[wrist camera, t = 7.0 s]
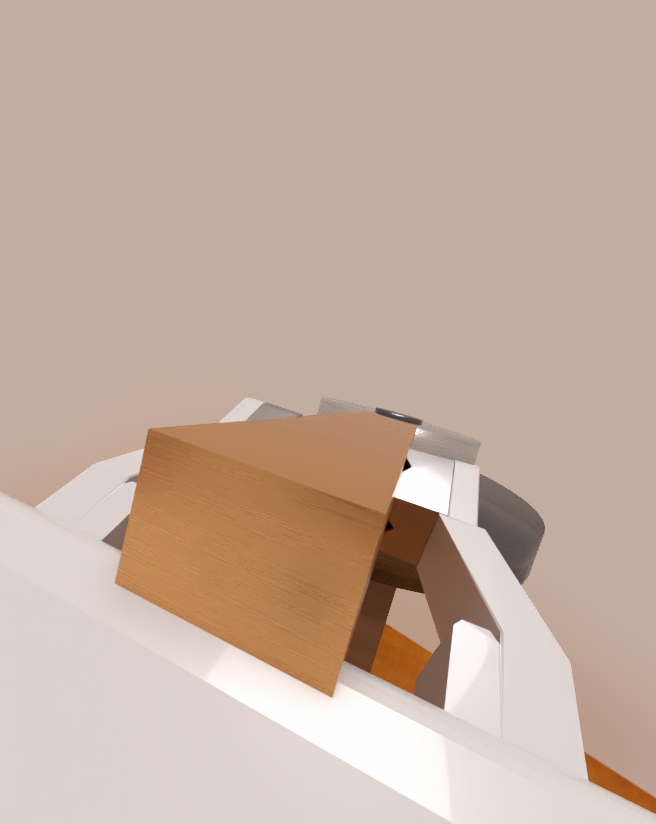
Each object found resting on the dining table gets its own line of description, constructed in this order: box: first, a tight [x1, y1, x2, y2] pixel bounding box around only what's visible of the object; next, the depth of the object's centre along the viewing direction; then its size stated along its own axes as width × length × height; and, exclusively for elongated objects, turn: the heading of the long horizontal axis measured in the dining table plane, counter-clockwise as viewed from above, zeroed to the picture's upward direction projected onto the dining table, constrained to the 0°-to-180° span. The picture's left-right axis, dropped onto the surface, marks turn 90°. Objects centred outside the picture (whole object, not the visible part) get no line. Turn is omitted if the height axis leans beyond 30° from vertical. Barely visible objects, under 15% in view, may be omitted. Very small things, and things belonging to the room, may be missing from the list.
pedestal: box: [345, 474, 545, 673], centre depth 21 cm, size 16×16×26 cm
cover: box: [115, 398, 481, 698], centre depth 15 cm, size 24×10×2 cm, turn 163°
